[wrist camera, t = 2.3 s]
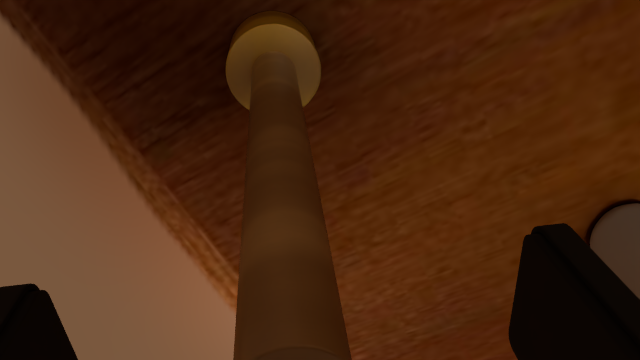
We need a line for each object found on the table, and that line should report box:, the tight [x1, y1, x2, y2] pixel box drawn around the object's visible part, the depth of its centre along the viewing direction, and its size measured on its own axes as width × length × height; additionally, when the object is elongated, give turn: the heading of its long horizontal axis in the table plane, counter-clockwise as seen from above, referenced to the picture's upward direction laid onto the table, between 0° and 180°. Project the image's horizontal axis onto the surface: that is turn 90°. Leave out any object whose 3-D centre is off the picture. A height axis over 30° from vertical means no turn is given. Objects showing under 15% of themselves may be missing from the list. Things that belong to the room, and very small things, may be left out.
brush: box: [226, 11, 352, 360], centre depth 17 cm, size 4×4×20 cm
